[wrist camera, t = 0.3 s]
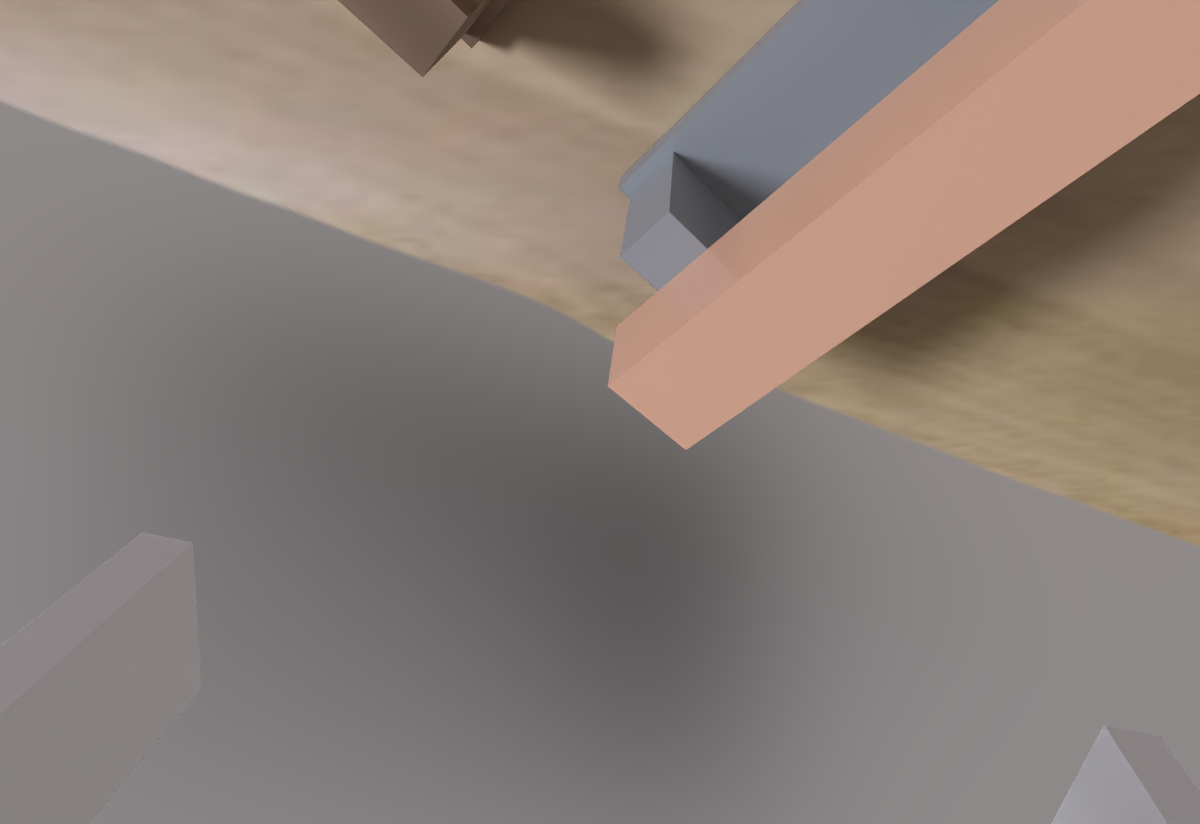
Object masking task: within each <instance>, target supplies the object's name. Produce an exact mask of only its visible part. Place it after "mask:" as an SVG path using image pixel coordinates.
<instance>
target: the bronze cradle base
mask: <svg viewBox="0 0 1200 824" xmlns="http://www.w3.org/2000/svg"><path fill="white" fill-rule="evenodd" d="M338 1H339V2H340V3H342V4H343V5H344V6H345V7H346V8H347V9H348V10H349V11H350V12H351V13H353V14H354V15H355V16H356V17H357V18H358V19H359V20H360V21H361V22H362V23H364V24H365V25H366V26H367V27H368V28H369V29H370V30H371V31H372V32H373V33H375V34H376V35H377V36H378V37H379V38H380V39H381V40H382V41H383V42H384V43H386V44H387V45H388V46H389V47H390V48H391V49H392V50H393V51H394V52H395V53H397V54H398V55H399V56H400V57H401V58H402V59H403V60H404V61H405V62H406V63H408V64H409V65H410V66H411V67H412V68H413V69H414V70H415V71H416V72H417V73H419V74H420V75H421V76H422V77H423V76H424V75H425V74H426V73H427V72H428V71H429V70H430V69H431V68H432V67H433V66H434V65H435V64H436V63H437V62H438V61H439V60H440V59H441V58H442V57H443V56H444V55H445V54H446V53H447V52H448V51H449V50H450V49H451V48H452V47H453V46H454V45H455V44H456V43H457V42H458V41H459V40H460V39H462V40H464V41H465V42H466V43H467V44H468V45H469V46H470V47H471V48H472V47H473V46H474V45H475V44H476V43H477V42H478V41H479V39H480V38H481V37H482V36H483V34H484V33H485V32H486V30H487V29H488V28H489V27H490V25H491V24H492V23H493V21H494V20H495V19H496V18H497V16H498V15H499V14H500V12H501V11H502V10H503V8H504V7H505V6H506V5H507V3H508V2H509V1H510V0H338Z"/></svg>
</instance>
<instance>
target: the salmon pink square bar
mask: <svg viewBox="0 0 1200 824" xmlns="http://www.w3.org/2000/svg"><path fill="white" fill-rule="evenodd" d="M1198 94H1200V0H999V1H997V2H996V3H995V4H994V5H993V6H992V7H990V8H989V9H988V10H987V11H986V12H985V13H983V14H982V15H981V16H980V17H979V18H978V19H976V20H975V21H974V22H973V23H972V24H970V25H969V26H968V27H967V28H966V29H965V30H963V31H962V32H961V33H960V34H959V35H958V36H956V37H955V38H954V39H953V40H952V41H951V42H949V43H948V44H947V45H946V46H945V47H944V48H942V49H941V50H940V51H939V52H938V53H937V54H935V55H934V56H933V57H932V58H931V59H929V60H928V61H927V62H926V63H925V64H924V65H922V66H921V67H920V68H919V69H918V70H917V71H915V72H914V73H913V74H912V75H911V76H910V77H908V78H907V79H906V80H905V81H904V82H903V83H901V84H900V85H899V86H898V87H897V88H896V89H894V90H893V91H892V92H891V93H890V94H889V95H887V96H886V97H885V98H884V99H883V100H881V101H880V102H879V103H878V104H877V105H876V106H874V107H873V108H872V109H871V110H870V111H869V112H867V113H866V114H865V115H864V116H863V117H862V118H860V119H859V120H858V121H857V122H856V123H855V124H853V125H852V126H851V127H850V128H849V129H848V130H846V131H845V132H844V133H843V134H842V135H840V136H839V137H838V138H837V139H836V140H835V141H833V142H832V143H831V144H830V145H829V146H828V147H826V148H825V149H824V150H823V151H822V152H821V153H819V154H818V155H817V156H816V157H815V158H814V159H812V160H811V161H810V162H809V163H808V164H807V165H805V166H804V167H803V168H802V169H801V170H799V171H798V172H797V173H796V174H795V175H794V176H792V177H791V178H790V179H789V180H788V181H787V182H785V183H784V184H783V185H782V186H781V187H780V188H778V189H777V190H776V191H775V192H774V193H773V194H771V195H770V196H769V197H768V198H767V199H766V200H764V201H763V202H762V203H761V204H760V205H758V206H757V207H756V208H755V209H754V210H753V211H751V212H750V213H749V214H748V215H747V216H746V217H744V218H743V219H742V220H741V221H740V222H739V223H737V224H736V225H735V226H734V227H733V228H732V229H730V230H729V231H728V232H727V233H726V234H725V235H723V236H722V237H721V238H720V239H719V240H718V241H716V242H715V243H714V244H713V245H712V246H710V247H709V248H708V249H707V250H706V251H705V252H703V253H702V254H701V255H700V256H699V257H698V258H696V259H695V260H694V261H693V262H692V263H691V264H689V265H688V266H687V267H686V268H685V269H684V270H682V271H681V272H680V273H679V274H678V275H677V276H675V277H674V278H673V279H672V280H671V281H669V282H668V283H667V284H666V285H665V286H664V287H662V288H661V289H660V290H659V291H658V292H657V293H655V294H654V295H653V296H652V297H651V298H650V299H648V300H647V301H646V302H645V303H644V304H643V305H641V306H640V307H639V308H638V309H637V310H636V311H634V312H633V313H632V314H631V315H630V316H628V317H627V318H626V319H625V320H624V321H623V322H621V323H620V324H619V325H618V326H617V330H616V337H615V343H614V350H613V356H612V363H611V369H610V376H609V382H608V386H609V388H611V389H612V390H613V391H614V392H616V393H617V394H618V395H619V396H621V397H622V398H623V399H624V400H625V401H627V402H628V403H629V404H630V405H632V406H633V407H634V408H635V409H636V410H638V411H639V412H640V413H641V414H643V415H644V416H645V417H646V418H647V419H649V420H650V421H651V422H652V423H654V424H655V425H656V426H657V427H658V428H660V429H661V430H662V431H663V432H664V433H666V434H667V435H669V436H670V437H671V438H672V439H673V440H674V441H675V442H677V443H678V444H679V445H680V446H682V447H683V448H684V449H685V450H686V449H688V448H689V447H691V446H692V445H694V444H695V443H697V442H698V441H699V440H701V439H702V438H704V437H705V436H707V435H708V434H710V433H711V432H712V431H714V430H715V429H717V428H718V427H720V426H721V425H723V424H724V423H725V422H727V421H728V420H730V419H731V418H733V417H734V416H736V415H737V414H738V413H740V412H741V411H743V410H744V409H746V408H747V407H748V406H750V405H751V404H753V403H754V402H756V401H757V400H759V399H760V398H761V397H763V396H764V395H766V394H767V393H769V392H770V391H772V390H773V389H774V388H776V387H777V386H779V385H780V384H782V383H783V382H785V381H786V380H787V379H789V378H790V377H792V376H793V375H795V374H796V373H798V372H799V371H800V370H802V369H803V368H805V367H806V366H808V365H809V364H811V363H812V362H813V361H815V360H816V359H818V358H819V357H821V356H822V355H823V354H825V353H826V352H828V351H829V350H831V349H832V348H834V347H835V346H836V345H838V344H839V343H841V342H842V341H844V340H845V339H847V338H848V337H849V336H851V335H852V334H854V333H855V332H857V331H858V330H860V329H861V328H862V327H864V326H865V325H867V324H868V323H870V322H871V321H873V320H874V319H875V318H877V317H878V316H880V315H881V314H883V313H884V312H886V311H887V310H888V309H890V308H891V307H893V306H894V305H896V304H897V303H898V302H900V301H901V300H903V299H904V298H906V297H907V296H909V295H910V294H911V293H913V292H914V291H916V290H917V289H919V288H920V287H922V286H923V285H924V284H926V283H927V282H929V281H930V280H932V279H933V278H935V277H936V276H937V275H939V274H940V273H942V272H943V271H945V270H946V269H948V268H949V267H950V266H952V265H953V264H955V263H956V262H958V261H959V260H961V259H962V258H963V257H965V256H966V255H968V254H969V253H971V252H972V251H973V250H975V249H976V248H978V247H979V246H981V245H982V244H984V243H985V242H986V241H988V240H989V239H991V238H992V237H994V236H995V235H997V234H998V233H999V232H1001V231H1002V230H1004V229H1005V228H1007V227H1008V226H1010V225H1011V224H1012V223H1014V222H1015V221H1017V220H1018V219H1020V218H1021V217H1023V216H1024V215H1025V214H1027V213H1028V212H1030V211H1031V210H1033V209H1034V208H1035V207H1037V206H1038V205H1040V204H1041V203H1043V202H1044V201H1046V200H1047V199H1048V198H1050V197H1051V196H1053V195H1054V194H1056V193H1057V192H1059V191H1060V190H1061V189H1063V188H1064V187H1066V186H1067V185H1069V184H1070V183H1072V182H1073V181H1074V180H1076V179H1077V178H1079V177H1080V176H1082V175H1083V174H1085V173H1086V172H1087V171H1089V170H1090V169H1092V168H1093V167H1095V166H1096V165H1098V164H1099V163H1100V162H1102V161H1103V160H1105V159H1106V158H1108V157H1109V156H1110V155H1112V154H1113V153H1115V152H1116V151H1118V150H1119V149H1121V148H1122V147H1123V146H1125V145H1126V144H1128V143H1129V142H1131V141H1132V140H1134V139H1135V138H1136V137H1138V136H1139V135H1141V134H1142V133H1144V132H1145V131H1147V130H1148V129H1149V128H1151V127H1152V126H1154V125H1155V124H1157V123H1158V122H1160V121H1161V120H1162V119H1164V118H1165V117H1167V116H1168V115H1170V114H1171V113H1172V112H1174V111H1175V110H1177V109H1178V108H1180V107H1181V106H1183V105H1184V104H1185V103H1187V102H1188V101H1190V100H1191V99H1193V98H1194V97H1196V96H1197V95H1198Z"/></svg>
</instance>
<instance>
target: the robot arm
mask: <svg viewBox="0 0 1200 824" xmlns="http://www.w3.org/2000/svg"><path fill="white" fill-rule="evenodd" d="M195 590H196V589H195V574H194V558H193V543H192V542H188V541H183V540H177V539H173V538H168V537H163V536H158V535H153V534H147V533H141V534H140V535H139V536H138V537H136V538H135V539H134V540H132V541H131V542H130V543H129V544H127V545H126V546H125V547H124V548H122V549H121V550H120V551H118V552H117V553H116V554H115V555H114V556H112V557H111V558H110V559H108V560H107V561H106V562H105V563H103V564H102V565H101V566H100V567H98V568H97V569H96V570H95V571H93V572H92V573H91V574H90V575H88V576H87V577H86V578H84V579H83V580H82V581H81V582H79V583H78V584H77V585H76V586H74V587H73V588H72V589H71V590H69V591H68V592H67V593H66V594H64V595H63V596H62V597H61V598H59V599H58V600H57V601H55V602H54V603H53V604H52V605H51V606H49V607H48V608H47V609H45V610H44V611H43V612H42V613H40V614H39V615H38V616H37V617H35V618H34V619H33V620H32V621H30V622H29V623H28V624H27V625H25V626H24V627H23V628H21V629H20V630H19V631H18V632H17V633H15V634H14V635H13V636H11V637H10V638H9V639H8V640H6V641H5V642H4V643H3V644H2V645H0V824H89V823H90V821H91V820H92V819H93V818H94V817H95V816H96V814H97V813H98V812H99V811H100V810H101V808H102V807H103V806H104V805H105V804H106V802H107V801H108V800H109V799H110V797H111V796H112V795H113V794H114V793H115V792H116V790H117V789H118V788H119V787H120V786H121V784H122V783H123V782H124V781H125V780H126V778H127V777H128V776H129V775H130V774H131V772H132V771H133V770H134V769H135V768H136V766H137V765H138V764H139V763H140V762H141V760H142V759H143V758H144V757H145V756H146V754H147V753H148V752H149V751H150V749H151V748H152V747H153V746H154V745H155V744H156V742H157V741H158V740H159V739H160V737H161V736H162V735H163V734H164V733H165V732H166V730H167V729H168V728H169V727H170V726H171V724H172V723H173V722H174V721H175V719H176V718H177V717H178V716H179V715H180V714H181V712H182V711H183V710H184V709H185V707H186V706H187V705H188V704H189V703H190V702H191V700H192V699H193V698H194V697H195V696H196V694H197V693H198V692H199V691H200V689H201V688H202V685H201V668H200V653H199V637H198V621H197V605H196V591H195ZM1051 824H1200V790H1199V789H1198V788H1197V786H1196V785H1195V783H1194V782H1193V781H1192V779H1191V778H1190V776H1189V775H1188V774H1187V772H1186V771H1185V770H1184V768H1183V767H1182V766H1181V764H1180V762H1179V761H1178V760H1177V758H1176V757H1175V756H1174V754H1173V753H1172V751H1171V750H1170V748H1169V747H1168V746H1167V744H1166V743H1165V742H1164V740H1163V739H1162V737H1161V736H1157V735H1152V734H1147V733H1142V732H1137V731H1132V730H1127V729H1122V728H1117V727H1112V726H1107V725H1104V726H1103V728H1102V730H1101V732H1100V734H1099V735H1098V737H1097V739H1096V741H1095V743H1094V745H1093V747H1092V748H1091V750H1090V753H1089V754H1088V756H1087V758H1086V760H1085V762H1084V764H1083V765H1082V767H1081V769H1080V771H1079V773H1078V775H1077V777H1076V778H1075V780H1074V782H1073V784H1072V786H1071V788H1070V790H1069V792H1068V793H1067V795H1066V798H1065V799H1064V801H1063V803H1062V805H1061V807H1060V808H1059V810H1058V812H1057V814H1056V816H1055V818H1054V820H1053V822H1052V823H1051Z"/></svg>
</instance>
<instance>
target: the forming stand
mask: <svg viewBox="0 0 1200 824" xmlns="http://www.w3.org/2000/svg"><path fill="white" fill-rule="evenodd" d="M997 1H999V0H800V1H799V2H798V3H797V4H796V5H795V6H794V7H793V8H792V9H791V10H790V11H789V12H788V13H787V14H786V15H785V16H784V17H783V18H782V19H781V20H780V21H779V22H778V23H777V24H776V25H775V26H774V27H773V28H772V29H771V30H770V31H769V32H768V33H767V34H766V35H765V36H764V37H763V38H762V39H761V40H760V41H759V42H758V43H757V44H756V45H755V46H754V47H753V48H752V49H751V50H750V51H748V52H747V53H746V54H745V55H744V56H743V57H742V58H741V59H740V60H739V61H738V62H737V63H736V64H735V65H734V66H733V67H732V68H731V69H730V70H729V71H728V72H727V73H726V74H725V75H724V76H723V77H722V78H721V79H720V80H719V81H718V82H717V83H716V84H715V85H714V86H713V87H712V88H711V89H710V90H709V91H708V92H707V93H706V94H705V95H704V96H703V97H702V98H701V99H700V100H699V101H698V102H697V103H696V104H695V105H694V106H693V107H692V108H691V109H690V110H689V111H688V112H687V113H686V114H685V115H684V116H683V117H682V118H681V119H680V120H679V121H678V122H677V123H676V124H675V125H674V126H673V127H672V128H671V129H670V130H669V131H668V132H667V133H666V134H665V135H664V136H663V137H662V138H661V139H660V140H659V141H658V142H657V143H655V144H654V145H653V146H652V147H651V148H650V149H649V150H648V151H647V152H646V153H645V154H644V155H643V156H642V157H641V158H640V159H639V160H638V161H637V162H636V163H635V164H634V165H633V166H632V167H631V168H630V169H629V170H628V171H627V172H626V173H625V174H624V175H623V176H622V177H621V180H620V185H619V189H620V190H621V191H622V192H623V193H624V194H625V195H626V196H627V197H628V198H629V199H630V202H629V208H628V214H627V220H626V226H625V231H624V237H623V243H622V249H621V255H620V257H621V258H622V259H623V260H624V261H625V262H627V263H628V264H629V265H630V266H631V267H632V268H633V269H634V270H635V271H636V272H638V273H639V274H640V275H641V276H642V277H643V278H644V279H645V280H646V281H647V282H649V283H650V284H651V285H652V286H653V287H654V288H655V289H656V290H657V291H659V290H660V289H661V288H662V287H664V286H665V285H666V284H667V283H668V282H669V281H671V280H672V279H673V278H674V277H675V276H677V275H678V274H679V273H680V272H681V271H682V270H684V269H685V268H686V267H687V266H688V265H689V264H691V263H692V262H693V261H694V260H695V259H696V258H698V257H699V256H700V255H701V254H702V253H703V252H705V251H706V250H707V249H708V248H709V247H710V246H712V245H713V244H714V243H715V242H716V241H718V240H719V239H720V238H721V237H722V236H723V235H725V234H726V233H727V232H728V231H729V230H730V229H732V228H733V227H734V226H735V225H736V224H737V223H739V222H740V221H741V220H742V219H743V218H744V217H746V216H747V215H748V214H749V213H750V212H751V211H753V210H754V209H755V208H756V207H757V206H758V205H760V204H761V203H762V202H763V201H764V200H766V199H767V198H768V197H769V196H770V195H771V194H773V193H774V192H775V191H776V190H777V189H778V188H780V187H781V186H782V185H783V184H784V183H785V182H787V181H788V180H789V179H790V178H791V177H792V176H794V175H795V174H796V173H797V172H798V171H799V170H801V169H802V168H803V167H804V166H805V165H807V164H808V163H809V162H810V161H811V160H812V159H814V158H815V157H816V156H817V155H818V154H819V153H821V152H822V151H823V150H824V149H825V148H826V147H828V146H829V145H830V144H831V143H832V142H833V141H835V140H836V139H837V138H838V137H839V136H840V135H842V134H843V133H844V132H845V131H846V130H848V129H849V128H850V127H851V126H852V125H853V124H855V123H856V122H857V121H858V120H859V119H860V118H862V117H863V116H864V115H865V114H866V113H867V112H869V111H870V110H871V109H872V108H873V107H874V106H876V105H877V104H878V103H879V102H880V101H881V100H883V99H884V98H885V97H886V96H887V95H889V94H890V93H891V92H892V91H893V90H894V89H896V88H897V87H898V86H899V85H900V84H901V83H903V82H904V81H905V80H906V79H907V78H908V77H910V76H911V75H912V74H913V73H914V72H915V71H917V70H918V69H919V68H920V67H921V66H922V65H924V64H925V63H926V62H927V61H928V60H929V59H931V58H932V57H933V56H934V55H935V54H937V53H938V52H939V51H940V50H941V49H942V48H944V47H945V46H946V45H947V44H948V43H949V42H951V41H952V40H953V39H954V38H955V37H956V36H958V35H959V34H960V33H961V32H962V31H963V30H965V29H966V28H967V27H968V26H969V25H970V24H972V23H973V22H974V21H975V20H976V19H978V18H979V17H980V16H981V15H982V14H983V13H985V12H986V11H987V10H988V9H989V8H990V7H992V6H993V5H994V4H995V3H996V2H997Z"/></svg>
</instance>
